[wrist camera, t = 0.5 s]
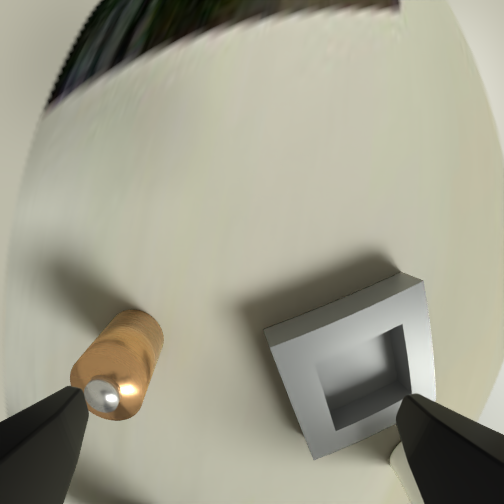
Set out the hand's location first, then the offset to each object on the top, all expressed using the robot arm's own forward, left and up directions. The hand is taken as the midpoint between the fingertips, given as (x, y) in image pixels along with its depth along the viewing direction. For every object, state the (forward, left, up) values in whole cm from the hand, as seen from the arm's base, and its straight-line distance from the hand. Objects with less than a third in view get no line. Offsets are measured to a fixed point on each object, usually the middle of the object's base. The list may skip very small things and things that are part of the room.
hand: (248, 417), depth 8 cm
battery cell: (-7, -1, -14) cm, 16 cm away
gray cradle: (+7, -9, -14) cm, 18 cm away
